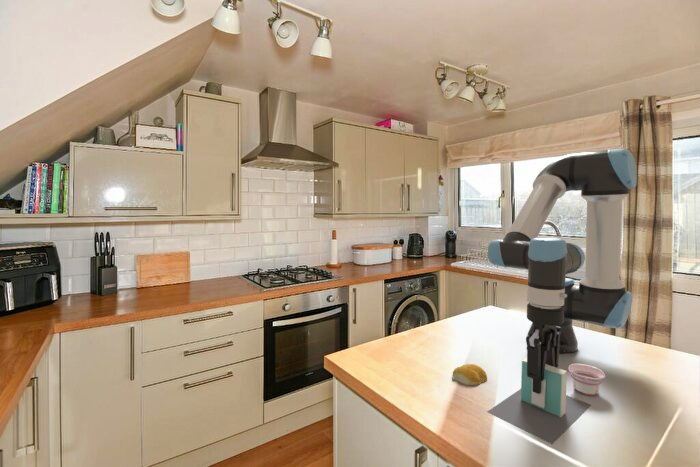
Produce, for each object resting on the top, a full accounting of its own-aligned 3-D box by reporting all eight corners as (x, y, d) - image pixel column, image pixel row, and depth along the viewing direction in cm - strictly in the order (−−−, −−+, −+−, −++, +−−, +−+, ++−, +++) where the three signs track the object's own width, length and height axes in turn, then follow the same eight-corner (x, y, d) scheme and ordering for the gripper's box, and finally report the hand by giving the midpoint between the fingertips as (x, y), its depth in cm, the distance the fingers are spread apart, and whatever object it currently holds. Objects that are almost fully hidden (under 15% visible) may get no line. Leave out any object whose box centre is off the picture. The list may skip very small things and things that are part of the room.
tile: (520, 400, 84) (521, 360, 83) (525, 396, 85) (526, 357, 85) (560, 417, 77) (562, 374, 76) (565, 413, 78) (567, 371, 78)
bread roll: (492, 381, 95) (492, 367, 95) (471, 390, 90) (472, 376, 90) (467, 369, 102) (467, 356, 101) (447, 378, 97) (447, 364, 96)
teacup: (618, 412, 80) (619, 387, 79) (558, 398, 86) (558, 374, 85) (609, 388, 90) (610, 366, 90) (556, 378, 96) (557, 356, 96)
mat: (487, 414, 79) (487, 411, 79) (531, 383, 93) (531, 381, 93) (552, 446, 68) (552, 444, 68) (591, 407, 82) (591, 404, 82)
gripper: (546, 315, 71) (543, 423, 73) (577, 301, 81) (573, 396, 83) (511, 307, 77) (508, 407, 79) (544, 295, 87) (541, 383, 89)
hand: (542, 401), depth 81 cm, fingers open, 4 cm apart
